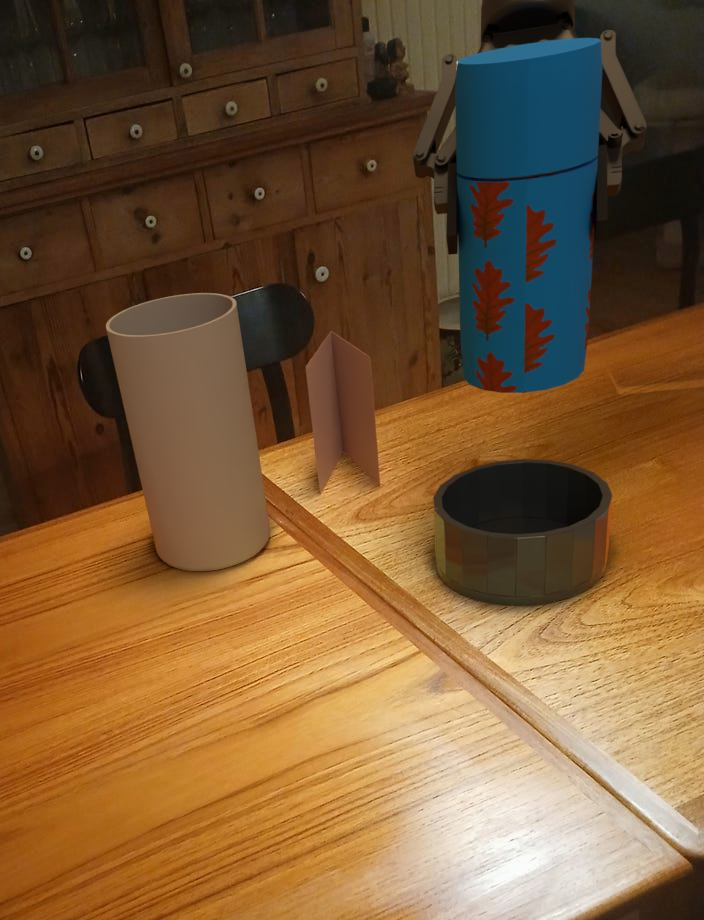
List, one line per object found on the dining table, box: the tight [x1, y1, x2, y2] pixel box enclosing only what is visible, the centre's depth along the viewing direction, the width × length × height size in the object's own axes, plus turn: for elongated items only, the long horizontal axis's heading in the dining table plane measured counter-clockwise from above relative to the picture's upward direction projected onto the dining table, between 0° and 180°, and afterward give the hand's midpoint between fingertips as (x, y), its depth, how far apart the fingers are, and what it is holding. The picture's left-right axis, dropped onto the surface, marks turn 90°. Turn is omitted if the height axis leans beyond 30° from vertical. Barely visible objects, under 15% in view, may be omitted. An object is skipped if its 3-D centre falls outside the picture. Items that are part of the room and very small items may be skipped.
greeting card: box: [305, 330, 381, 495], centre depth 112 cm, size 11×7×15 cm, turn 161°
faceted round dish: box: [432, 458, 613, 607], centre depth 92 cm, size 16×16×7 cm
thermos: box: [454, 37, 603, 394], centre depth 81 cm, size 11×11×25 cm
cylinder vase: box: [105, 292, 271, 572], centre depth 100 cm, size 12×12×25 cm
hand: (524, 238), depth 79 cm, fingers closed on thermos, 11 cm apart
